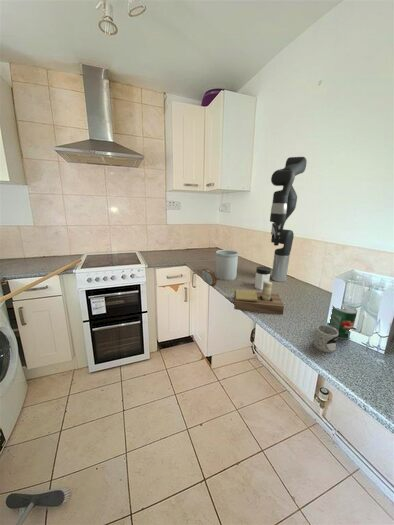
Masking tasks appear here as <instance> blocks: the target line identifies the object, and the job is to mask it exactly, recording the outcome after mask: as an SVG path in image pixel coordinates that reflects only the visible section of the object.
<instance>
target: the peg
mask: <svg viewBox="0 0 394 525" xmlns="http://www.w3.org/2000/svg"><path fill="white" fill-rule="evenodd" d="M272 288H273V282H270V281H269V282H264V283H263V290H261V293H262V300H263V301H270V297H271V293H272V290H273V289H272Z"/></svg>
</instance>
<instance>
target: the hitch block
mask: <svg viewBox="0 0 394 525" xmlns="http://www.w3.org/2000/svg"><path fill="white" fill-rule="evenodd" d="M236 290H237V289H235V290H234V298H233V300H234V302H233V304H234V305H233V309H234V310H237V311H249V312H257V313H265V312H266V314H267V313H269V314H275V315H276V314H277V315H283V314H284V308H285V305H284V303H283V301H282V298H281V297H280V295H279V294H278V293H272V292H271V297H270V301H263V300H262V291H261V292H260V291H256V294H257V298H258V301H244V300H236Z"/></svg>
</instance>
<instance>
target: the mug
mask: <svg viewBox="0 0 394 525" xmlns="http://www.w3.org/2000/svg"><path fill="white" fill-rule="evenodd" d="M338 334H339V333H338V331H337V330H336V328H332V327H330V326H329V325H325V324H319V325H317V326H316V328H315V334H314V338H313V346H314V347H315V348H316V349H318V351H321V352H324V353H329V354H330V353H334V352H335V351H336V346H337V342H338V339H339V338H338Z"/></svg>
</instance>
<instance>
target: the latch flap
mask: <svg viewBox="0 0 394 525" xmlns="http://www.w3.org/2000/svg"><path fill="white" fill-rule="evenodd" d="M235 290H236V300H244V301H258V298H257V294H256V292H257V290H255V289H254V290H252V289H251V290H250V289H235Z"/></svg>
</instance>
